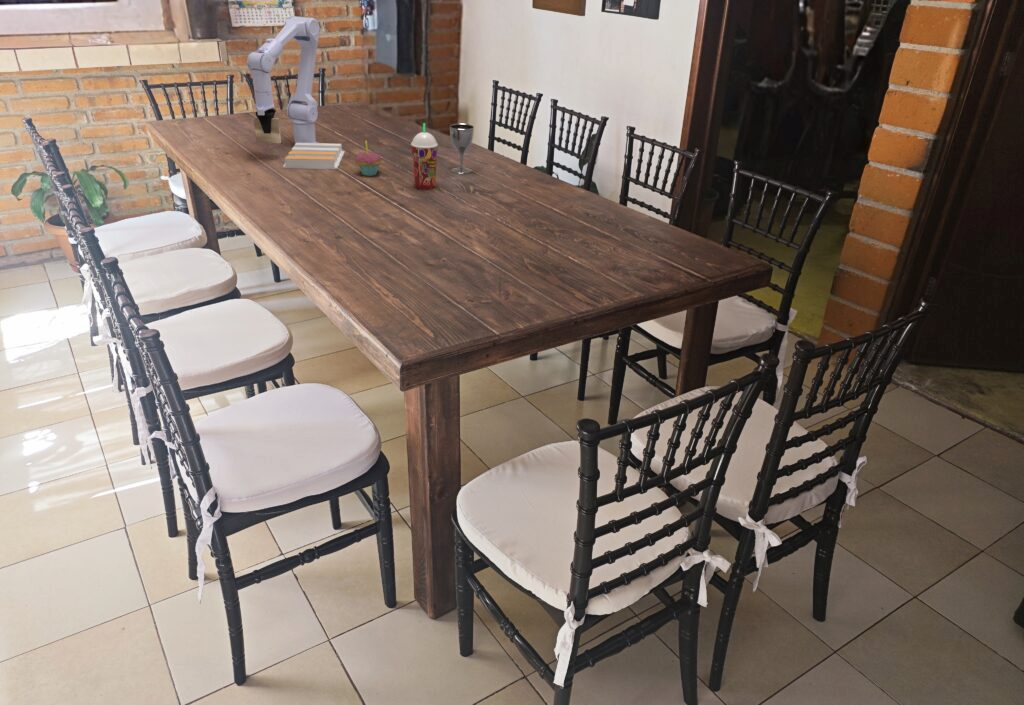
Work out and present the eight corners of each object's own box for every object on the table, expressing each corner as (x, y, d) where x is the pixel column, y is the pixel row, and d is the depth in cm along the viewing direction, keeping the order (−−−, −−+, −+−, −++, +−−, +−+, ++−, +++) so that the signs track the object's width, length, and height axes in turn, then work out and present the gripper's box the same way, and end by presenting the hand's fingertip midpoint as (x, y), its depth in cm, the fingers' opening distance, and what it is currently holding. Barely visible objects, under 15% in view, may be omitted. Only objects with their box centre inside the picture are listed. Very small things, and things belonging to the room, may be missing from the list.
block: (257, 141, 259) (254, 117, 255) (281, 141, 260) (278, 118, 256) (256, 142, 257) (253, 118, 253) (280, 143, 258) (277, 119, 254)
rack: (294, 151, 271) (293, 142, 270) (344, 152, 273) (344, 143, 271) (282, 168, 253) (281, 158, 251) (337, 169, 254) (336, 159, 252)
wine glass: (474, 168, 262) (475, 124, 255) (471, 174, 256) (471, 129, 248) (452, 166, 263) (452, 122, 256) (448, 172, 256) (448, 128, 249)
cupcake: (379, 178, 248) (377, 141, 242) (353, 176, 248) (351, 140, 242) (383, 170, 255) (382, 135, 249) (358, 169, 255) (356, 133, 249)
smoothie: (433, 191, 238) (433, 127, 228) (408, 189, 239) (406, 125, 229) (441, 184, 245) (440, 121, 235) (416, 181, 246) (415, 119, 236)
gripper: (255, 86, 256) (260, 126, 263) (245, 95, 243) (251, 137, 250) (276, 87, 257) (281, 127, 263) (268, 95, 244) (273, 137, 251)
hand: (268, 132), depth 257 cm, fingers closed on block, 2 cm apart
